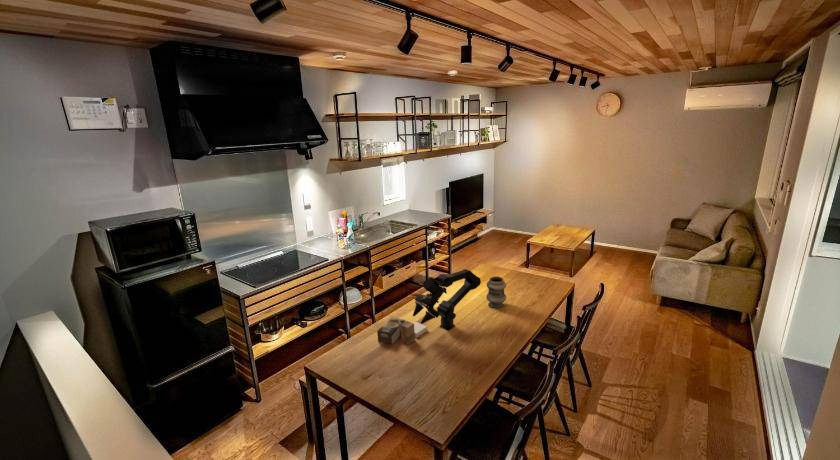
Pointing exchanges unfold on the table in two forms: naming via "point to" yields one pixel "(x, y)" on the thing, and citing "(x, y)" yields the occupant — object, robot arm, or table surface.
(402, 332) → the walnut block
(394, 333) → the coffee box
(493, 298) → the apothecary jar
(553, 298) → the table surface
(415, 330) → the base plinth
